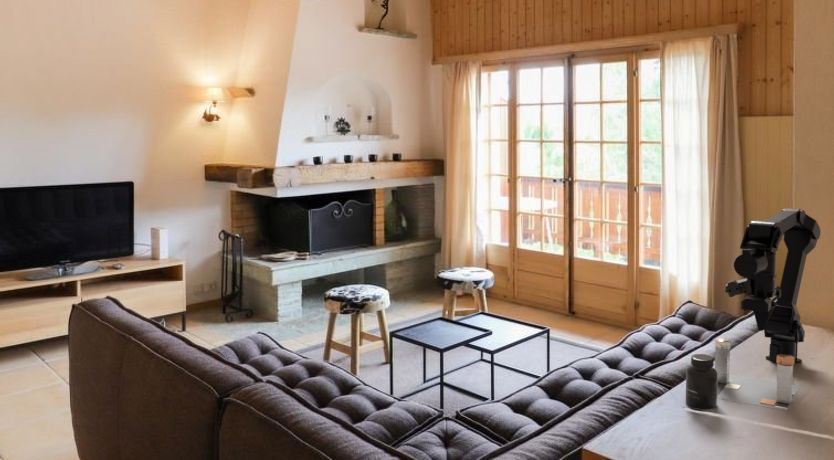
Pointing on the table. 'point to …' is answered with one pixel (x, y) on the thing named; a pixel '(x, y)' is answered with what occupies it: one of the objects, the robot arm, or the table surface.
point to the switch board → (753, 391)
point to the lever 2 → (784, 378)
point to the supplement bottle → (701, 383)
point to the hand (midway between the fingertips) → (760, 330)
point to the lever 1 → (722, 359)
